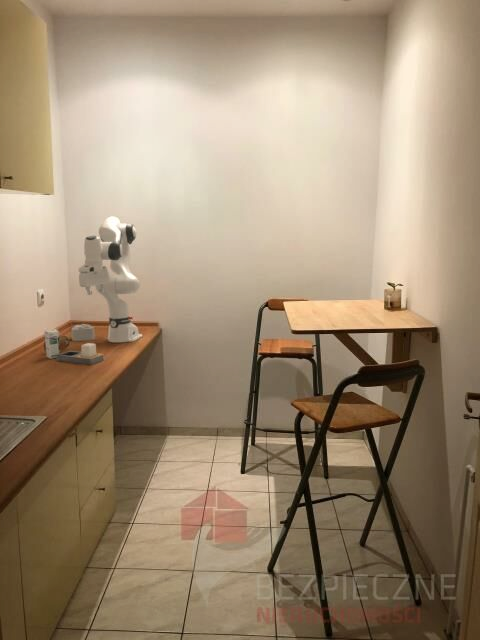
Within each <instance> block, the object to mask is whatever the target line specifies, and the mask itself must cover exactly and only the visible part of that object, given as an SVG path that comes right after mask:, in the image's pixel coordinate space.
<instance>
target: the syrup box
mask: <svg viewBox="0 0 480 640" xmlns="http://www.w3.org/2000/svg"><path fill="white" fill-rule="evenodd" d="M43 332H44V342H45V343H46V351H45V352H46V357H47V358H48V359H57V355H58V354H61V353H62V351H60V341H59V336H60V331H59V330H58V329H47V330H44V331H43Z"/></svg>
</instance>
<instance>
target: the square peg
mask: <svg viewBox="0 0 480 640" xmlns="http://www.w3.org/2000/svg"><path fill="white" fill-rule="evenodd" d="M81 352H82V357H89V358H91V357H93V356H96V353H97V344H96V343H92V342H91V343H89V342H87V343H84V344H81Z"/></svg>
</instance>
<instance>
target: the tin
mask: <svg viewBox="0 0 480 640" xmlns="http://www.w3.org/2000/svg"><path fill="white" fill-rule="evenodd" d="M59 341H60V352H63V351H64V352H65V351H66V350H68V348H69V346H70V339H69V338H68V336H66V335H59ZM43 349H44V351H45V352H46V343H45V341H44V342H43Z"/></svg>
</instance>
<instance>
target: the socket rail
mask: <svg viewBox="0 0 480 640" xmlns="http://www.w3.org/2000/svg"><path fill="white" fill-rule="evenodd" d="M104 360H105V359H104V353H97V352H96V356H93V357H91V358H89V357H82V351H77V350H68V351H64V352H61V354H58V355H57V358H56V361H58V362H64V363H65V362H66V363H73V364H81V365H88V366H91V365H95V364H97V363H101V362H103V361H104Z"/></svg>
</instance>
